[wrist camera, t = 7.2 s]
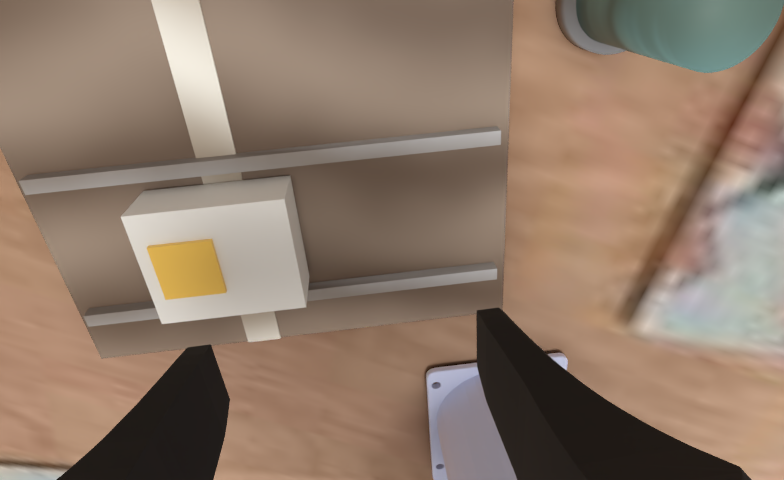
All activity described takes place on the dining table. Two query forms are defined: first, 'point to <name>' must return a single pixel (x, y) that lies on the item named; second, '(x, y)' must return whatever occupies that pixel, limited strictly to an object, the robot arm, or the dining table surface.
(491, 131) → the board
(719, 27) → the teal round cylinder
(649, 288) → the dining table surface
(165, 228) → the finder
